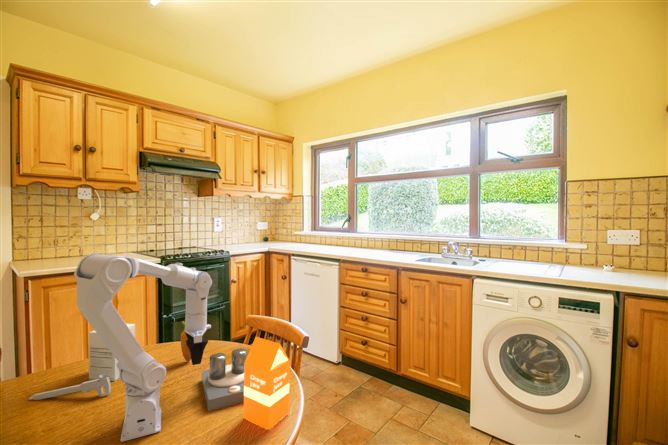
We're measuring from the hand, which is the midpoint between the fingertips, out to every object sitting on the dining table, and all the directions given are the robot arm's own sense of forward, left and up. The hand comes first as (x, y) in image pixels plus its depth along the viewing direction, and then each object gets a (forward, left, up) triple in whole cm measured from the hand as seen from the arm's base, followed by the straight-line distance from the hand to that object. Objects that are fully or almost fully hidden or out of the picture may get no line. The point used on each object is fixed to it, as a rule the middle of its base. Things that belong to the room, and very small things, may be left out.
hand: (195, 358), depth 90 cm
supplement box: (+23, +23, -10) cm, 34 cm away
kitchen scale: (-2, -9, -10) cm, 14 cm away
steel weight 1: (-1, -6, -6) cm, 9 cm away
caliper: (+13, +31, -11) cm, 35 cm away
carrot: (+21, +1, -10) cm, 24 cm away
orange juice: (-20, -15, -10) cm, 27 cm away
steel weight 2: (0, -12, -6) cm, 14 cm away
